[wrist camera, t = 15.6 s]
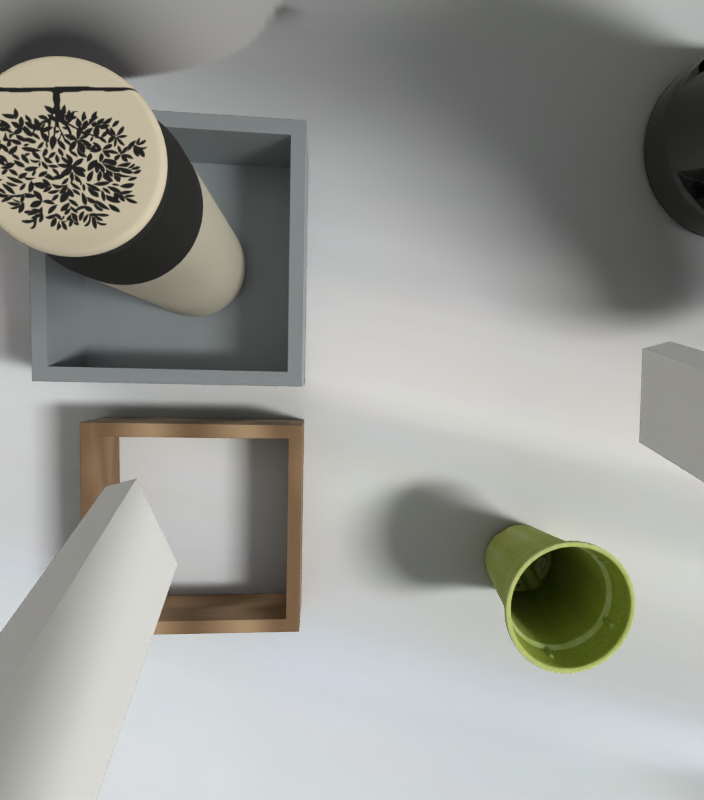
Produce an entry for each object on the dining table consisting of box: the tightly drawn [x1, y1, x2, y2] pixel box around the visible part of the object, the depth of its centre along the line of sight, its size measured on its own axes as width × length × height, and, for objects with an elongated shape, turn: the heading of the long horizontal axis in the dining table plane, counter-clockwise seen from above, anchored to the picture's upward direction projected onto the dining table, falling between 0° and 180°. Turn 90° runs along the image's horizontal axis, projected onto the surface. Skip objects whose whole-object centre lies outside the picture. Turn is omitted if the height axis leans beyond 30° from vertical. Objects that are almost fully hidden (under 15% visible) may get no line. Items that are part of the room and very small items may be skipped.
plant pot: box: [485, 525, 635, 673], centre depth 35 cm, size 9×9×9 cm
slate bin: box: [29, 110, 308, 387], centre depth 33 cm, size 18×18×6 cm
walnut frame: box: [80, 417, 304, 635], centre depth 35 cm, size 16×16×4 cm
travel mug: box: [0, 56, 246, 317], centre depth 26 cm, size 8×8×18 cm
